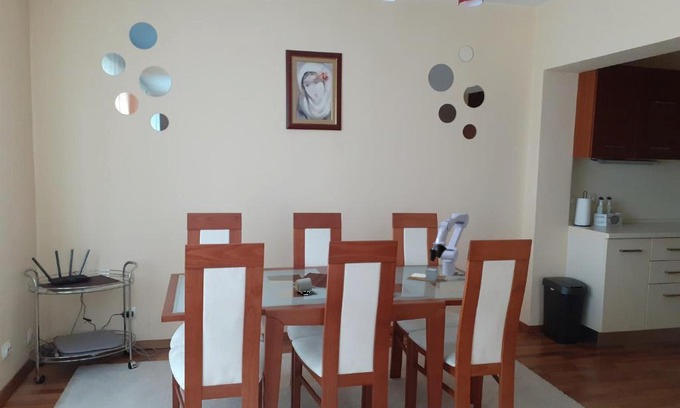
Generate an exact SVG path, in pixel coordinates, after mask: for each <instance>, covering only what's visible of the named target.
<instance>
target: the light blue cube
mask: <svg viewBox="0 0 680 408" xmlns="http://www.w3.org/2000/svg"><path fill="white" fill-rule="evenodd" d="M438 273H439V269H438V268H431V267H429V268H426V269H425V274H426V280H429V281H436V280H437V279H438V276H439V275H438Z"/></svg>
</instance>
